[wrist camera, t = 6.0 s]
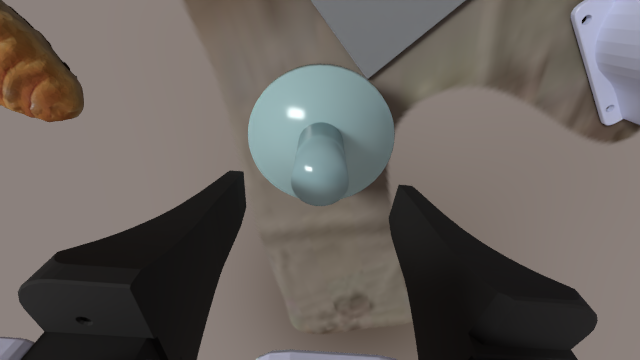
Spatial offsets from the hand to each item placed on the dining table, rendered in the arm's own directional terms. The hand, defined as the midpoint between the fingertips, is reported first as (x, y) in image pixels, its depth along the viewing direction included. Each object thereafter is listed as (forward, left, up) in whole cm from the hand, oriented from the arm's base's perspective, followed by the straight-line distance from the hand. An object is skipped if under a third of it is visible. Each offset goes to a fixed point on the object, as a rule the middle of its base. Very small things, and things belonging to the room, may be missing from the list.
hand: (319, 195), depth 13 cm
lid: (0, 0, -6) cm, 6 cm away
